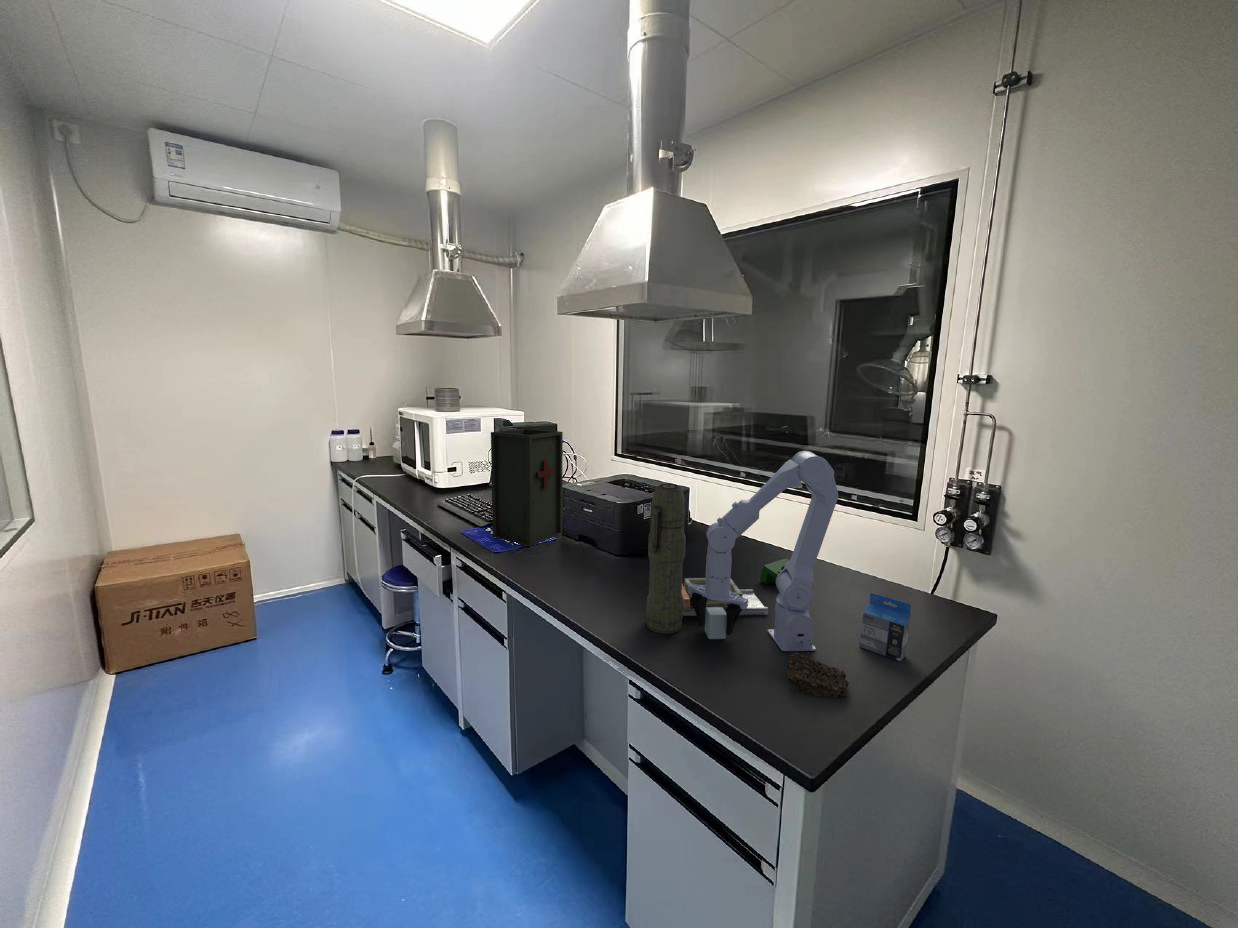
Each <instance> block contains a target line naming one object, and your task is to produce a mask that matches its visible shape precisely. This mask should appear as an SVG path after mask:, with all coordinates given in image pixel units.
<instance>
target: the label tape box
mask: <svg viewBox="0 0 1238 928" xmlns="http://www.w3.org/2000/svg"><path fill="white" fill-rule="evenodd" d="M884 602H885V603H884ZM887 603H891V604H892V605H895V606H892V605H889V604H887ZM911 608H912V604H911V603H908V602H905V601H901V600H898V599H896V598H891V597H888V596H885V595H881V594H876V593H874V592H870V594H869V603H868V604H867V605H866V608H865V610H864V611H863V613H862V621H861V628H860V629H861V630H860V638H859V648H862V649H865V650H867V651H871V652H873V653H876V654H879V655H881V656H885V657H886V658H887V657H888V658H890V659H893V660H894V661H895V660H896V661H898V662H901V661H902V660H904V658H905V657H906V654H907V647H908V638H909V631H910V623H911V610H912V609H911Z"/></svg>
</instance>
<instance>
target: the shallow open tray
mask: <svg viewBox="0 0 1238 928" xmlns="http://www.w3.org/2000/svg"><path fill="white" fill-rule="evenodd" d="M705 579H706V577H688V578H687V577H685V578H683V586H684V588H685V590H686V592H687V594H688V586H689V585H690V584H696V585H703V586H705ZM740 590H741V589H739V587H738V586H737V585H736V583H735V582H734V580H732V577H731V578H730V592H732V593H735V594H737V595H739V596H741V597H742V595H743V594H742V593H741V591H740ZM688 596H689V598H691V597H692V594H688ZM717 603H724V602H720V601H716V600H711V599H708V598H707V603H706V604H717ZM726 604H727V603H726ZM727 606H730V604H727Z"/></svg>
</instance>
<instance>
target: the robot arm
mask: <svg viewBox="0 0 1238 928" xmlns="http://www.w3.org/2000/svg"><path fill="white" fill-rule="evenodd" d="M802 482H803V483H804V485H805V487H806V488H807V490H808V491H809V493H810V494H811V499H810V502H809V504H808V507H807V511H806V513H805V516H804V519H803V522H802V525H801V528H800V530H799V534H798V537H797V540H796V543H795V546H794V548H793V552H792V555H791V557H790V559H788V560H789V561H788V562H787V563H786V564H785V567H784V569H783V570H782V571H781V572H780V573H779V574H778V576H777V578H776V583H775V586H776V588H777V590H778V591H779V593H778V595H777V597H776V599H775V611H774V612H775V613H774V625H773V626H774V627H773V628H769V629H767V633H768V634H769V635H770V637H771V638H772V640H773V641H774V642H775V644H776V645H777V646H778V647H779V649H780V651H782V652H805V651H806V652H809V651H810V652H811V651H813V652H815V651H817V648H816V646H815V645H814V644H813V641H814V630H815V623H814V620H813V619H812V618H811V616H810V611H809V609H810V605H811V604H812V601H813V592H812V591H813V586H814V585H813V584H814V567H815V565H816V561H817V559H818V556H819V553H820V550H821V548H822V545H823V541H824V539H825V537H826V533H827V530H828V529H829V525H830V522H831V521H832V516H833V513H834V512H835V511H834V510H835V508H836V505H837V502H838V499H839V492H838V488H837V483H836V479H835V470H834V469H833V467H832V466H831V465H830V463H829V462H828V461H827V460H826V459H825V458H824V457H821V456H819V455H816V454H815V453H814V452H812V451H809V450H802V451H799V452H797V453H795V454H794V455H793V457H792V458H791V459H788V460H787V461H786V462H785V463H784V464H783V465H782V466H781V467H780V468H778V470H777V471H776V472H775V473H774V474H773V475H772V476H771V477H770V478H769V479H768V480H767V481H766V482H765V483H764V484H763V485H762V486H761V487H760V488H759V489H758V491H757V492H756V493H754V495H752V497H750V498H749V499H741V500H739V501H738V502H737V501H734V502H733V503H732V504H731V507H732V508H730V509H729V510H728V511H727V513H725V514H724V515H723V516H722V517H720V516H719V517H718V518H717V519H716V522H713V523H712V524H710V525H709V526H708V528H707V531H706V533H705V535H706V539H707V541H708V542H707V543H708V544H707V548H706V549H707V553H706V560H705V561H706V562H705V563H706V564H705V578H706V579H705V586H703V585H696V584H690V585H689V586H688V594H692V597H691V598H690V602H691V604H692V605H693V608H694V610H695V613H696V621H697V625H698V627H702V626H703V625H705V612H706V603H707V598H708V599H711V600H716V601H720V602H724V603H727V604H730V606H728V607H727V608H726V616H727V622H726V635H727V636H731V635H732V634H733V631H734V628H735V624H736V622H737V620H738V618H739V616H740V615H739V614H740V612H741V611H742V609H744V610H745V609H746V608H747V607H748V599H746V598H743V597H741V596H739V595H737V594H735V593H732V592H730V578H731V579H732V577H731V576H732V574H731V573H732V560H733V559H732V549H733V548H734V547H735V543H736V539H737V538H739V537H741V536H742V535H743V534H744V533H745V532H746V531H747V530H748V529H749V528H750V527H752V526H753V525H754V524H755V523H756V522H757V521H758V520H759V519H760V512H761V510H762V509H763V508H764V507H766V506H767V505H768V504H769V503H770V502H772V501H773V500H774V499H775V498H777V497H778V496H779V495H780V494H781V493H782V492H784V491H785V490H786V489H787V488H797V487H803V484H802Z"/></svg>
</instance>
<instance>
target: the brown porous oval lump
mask: <svg viewBox="0 0 1238 928" xmlns="http://www.w3.org/2000/svg"><path fill="white" fill-rule="evenodd" d="M846 677H847V673H846V672H845V671H843V670H841V669H839V667H837V668H836V667H835V666H829V665H827V664H826V663H822V662H820V661H818V660H817V659H814V658H812V657H810V656H807V655H803V654H800V653H799V652H798V651H795V652H793V653H792V654H791V655H790V659H789V660H788V664H787V672H786V677H785V679H786V681H787V683H788V684H789V685H791V686H792V687H794V689H795V688H797V689H798V690H799V691H800V692H801V693H802V694H806V695H808V694H809V695H810V694H811V696H813V697H815V696H818V695H819V697H820V696H821V697H823V698H824V697H833V698H838V697H839V696H844V697H846V696H847V695H848V687H849V685H850V684H849V683H850V682H849V681H848V680H847V679H846Z"/></svg>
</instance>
